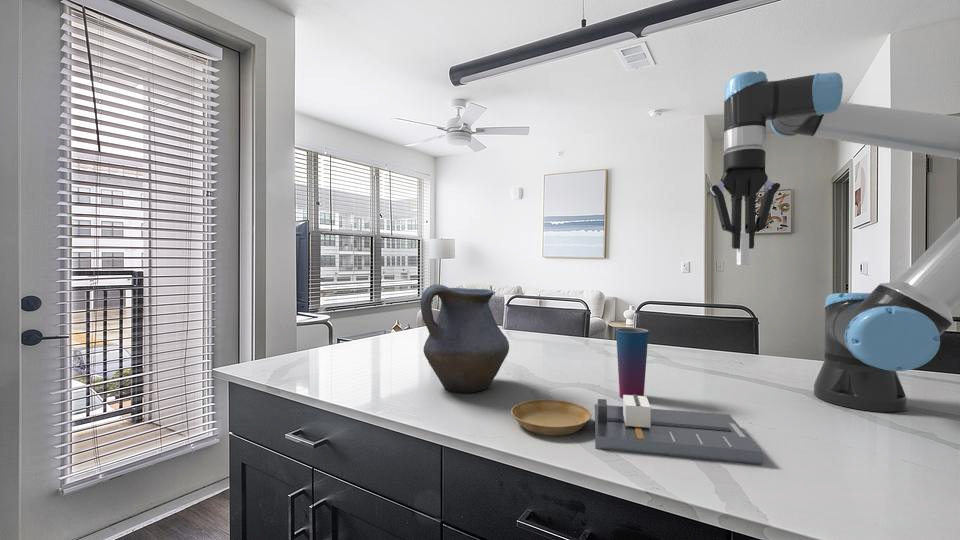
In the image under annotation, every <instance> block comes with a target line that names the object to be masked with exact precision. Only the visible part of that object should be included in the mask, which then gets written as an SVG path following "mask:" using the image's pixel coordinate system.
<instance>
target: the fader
mask: <svg viewBox="0 0 960 540" xmlns="http://www.w3.org/2000/svg"><path fill="white" fill-rule="evenodd" d="M622 406H623V416H624V421H625V426H635V427H647V428H650V423H651V409H652V408H651V405H650V402H649V400H648V398H647V396H645V395H644V396H637V395H635V394H633V395H623V399H622Z"/></svg>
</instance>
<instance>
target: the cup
mask: <svg viewBox="0 0 960 540" xmlns="http://www.w3.org/2000/svg"><path fill="white" fill-rule="evenodd" d="M615 333H616V334H615V337H616V353H617V373H618V386H619V387H618V388H619V389H618V391H619V398H621V399H622V400H623V395H633V394H635V395H637V396H645V383H646V370H647V369H646V367H647V359H648V358H647V357H648V344H649V343H648V342H649V330H648V329H645V328H639V327H628V326H627V327H618V328H615Z"/></svg>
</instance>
